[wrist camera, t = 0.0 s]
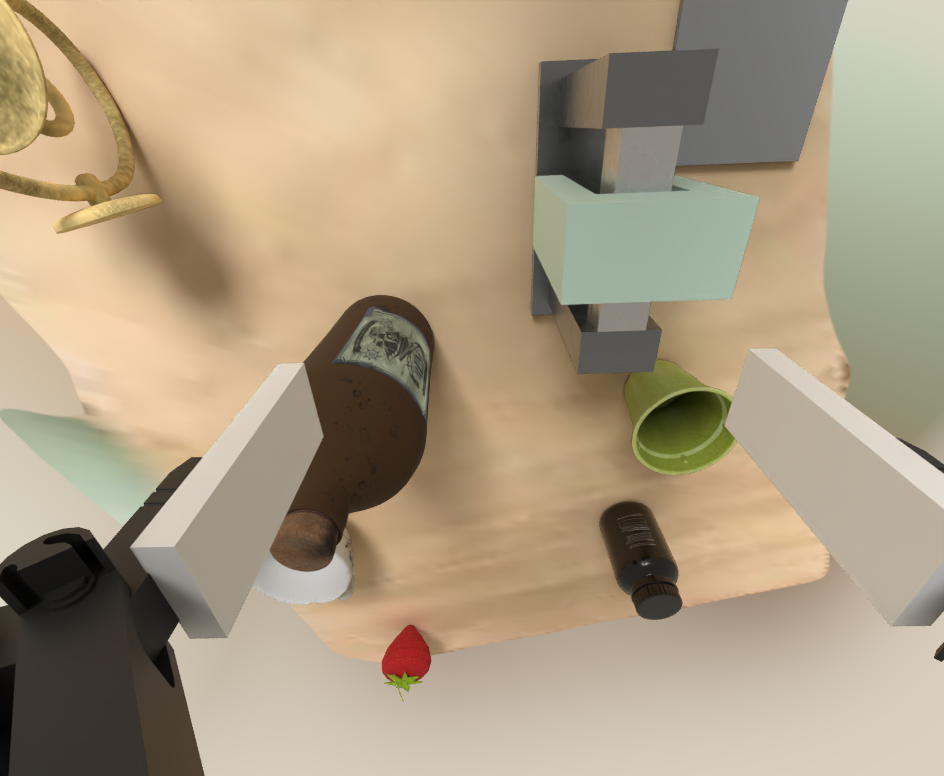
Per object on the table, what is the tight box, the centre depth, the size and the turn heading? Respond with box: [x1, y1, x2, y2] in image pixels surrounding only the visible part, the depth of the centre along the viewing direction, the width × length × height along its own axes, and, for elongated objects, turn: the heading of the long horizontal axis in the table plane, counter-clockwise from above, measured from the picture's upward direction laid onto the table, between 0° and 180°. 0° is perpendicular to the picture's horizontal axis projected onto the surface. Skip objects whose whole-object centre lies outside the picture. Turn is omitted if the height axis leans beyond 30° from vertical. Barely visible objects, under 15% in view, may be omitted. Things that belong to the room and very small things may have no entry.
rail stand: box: [531, 49, 719, 374], centre depth 31 cm, size 19×8×14 cm, turn 2°
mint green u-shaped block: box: [533, 175, 760, 305], centre depth 28 cm, size 5×9×13 cm, turn 92°
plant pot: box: [624, 360, 737, 475], centre depth 42 cm, size 9×9×9 cm
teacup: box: [252, 528, 354, 605], centre depth 54 cm, size 15×12×8 cm
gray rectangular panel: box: [673, 0, 848, 166], centre depth 32 cm, size 11×11×1 cm
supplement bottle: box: [600, 502, 683, 620], centre depth 51 cm, size 7×7×12 cm
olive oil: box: [270, 295, 434, 572], centre depth 33 cm, size 11×11×25 cm
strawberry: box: [382, 625, 431, 700], centre depth 64 cm, size 6×8×10 cm
